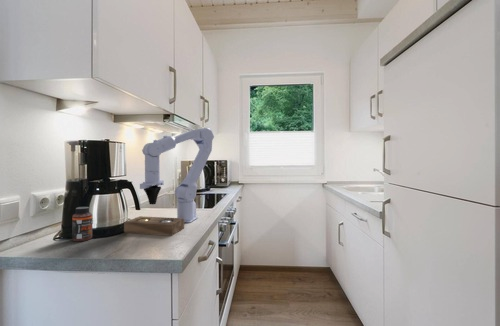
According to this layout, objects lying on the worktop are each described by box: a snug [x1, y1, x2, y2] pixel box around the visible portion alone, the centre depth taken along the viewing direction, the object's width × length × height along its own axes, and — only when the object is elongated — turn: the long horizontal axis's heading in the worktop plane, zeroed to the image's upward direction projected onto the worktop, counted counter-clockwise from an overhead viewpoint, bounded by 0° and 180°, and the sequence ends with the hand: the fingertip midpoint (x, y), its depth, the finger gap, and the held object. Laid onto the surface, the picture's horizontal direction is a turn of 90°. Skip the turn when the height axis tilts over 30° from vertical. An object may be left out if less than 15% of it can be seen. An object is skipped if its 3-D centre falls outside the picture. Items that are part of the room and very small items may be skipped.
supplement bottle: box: [71, 206, 93, 242], centre depth 91 cm, size 6×6×11 cm
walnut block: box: [123, 215, 185, 236], centre depth 103 cm, size 10×20×4 cm, turn 79°
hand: (152, 204), depth 108 cm, fingers closed
